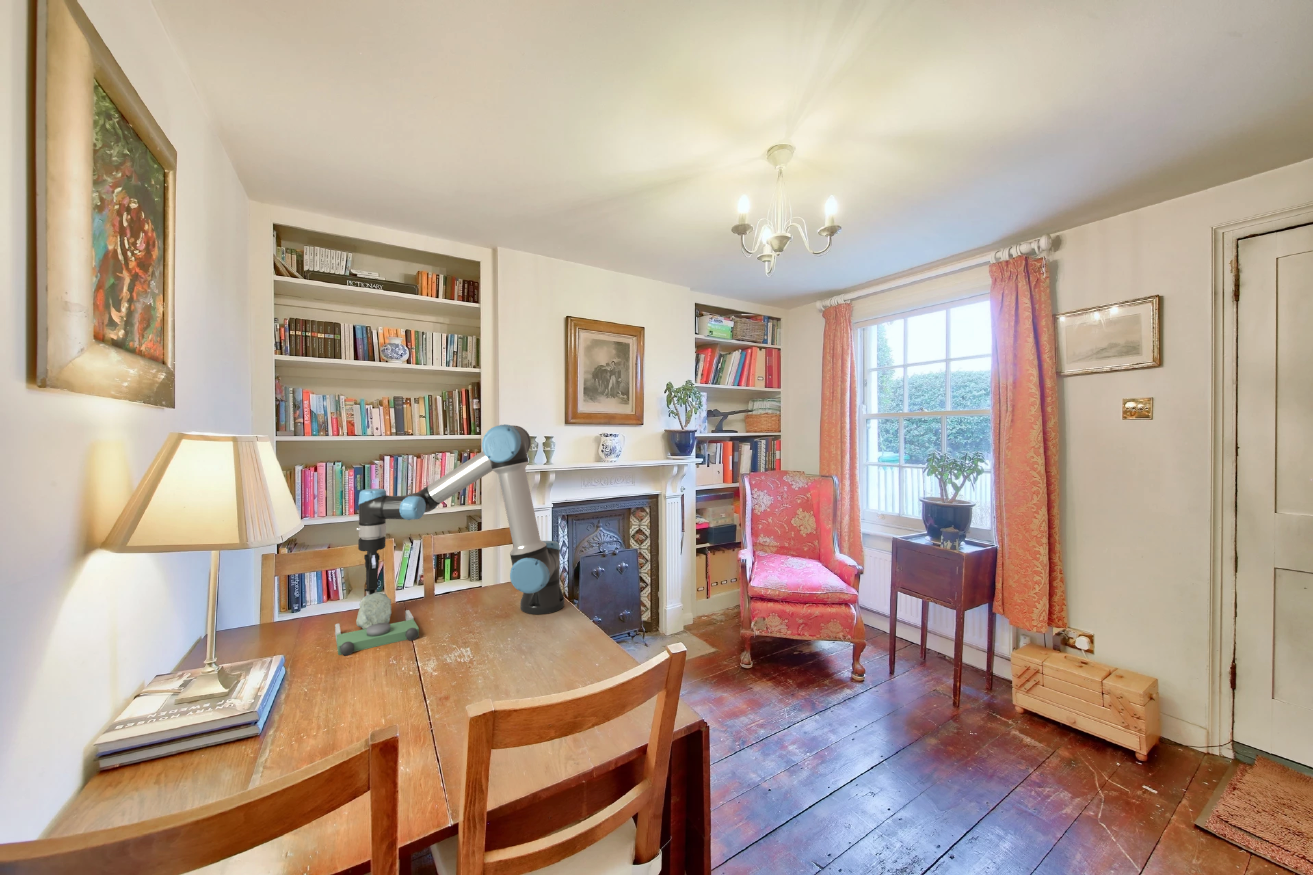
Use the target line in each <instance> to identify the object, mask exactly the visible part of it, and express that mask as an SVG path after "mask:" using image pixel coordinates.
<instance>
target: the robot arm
mask: <svg viewBox="0 0 1313 875" xmlns="http://www.w3.org/2000/svg"><path fill="white" fill-rule="evenodd" d="M531 446H532V440H531V436H530V434H529V432H528V431H527V430H526V429H525V428H524V427H521V426H519V425H510V424H499V425H495V426H493V427H491V428H490V429H488V430H487V431H486V433H485V434H484V436H483V438H482V442H481V448H482V451H481V452H479V453H477V454H476V455H474V456H473V457H472V458H470V459H468V460H467V461H465V462H464V463H462V464H461V465H458V466H457V467H455V468H454V469H452V470H450V471H449V472H448V473H446V474H444V475H443V476H441V477H440V478H438V479H436V480H435V481H433V482H432V483H430V484H429V485H428V486H426V487H424V488H423V489H420V490H419V491H417V492H414V493H409V494H405V495H388V494H387V490H386V489H385V488H366V489H362V490H360V492H359V495H358V496H359V497H358V527H357V528H356V530H355V531H356V532H358V537H359V539H358V548H357V549H358V550H359V551H360V552H366V554H364V558H363V559H364V566H365V585H366V586H365V588H364V592H366V595H365V596H367V595H371V594H373V593H375V592H378V591H377V590H378V588H379V585H378V577H379V576H378V575H379V567H380V566H379V565H380V563H379V561H380V554H379V552H378V551H380V550H384V549H385V548H386V536H385V535H386V533H387V530H386V529H387V523H386V522H387V521H386V520H407V521H412V520H420V519H422V517H423V516H424V515H425V513H430V512H431V511H433V510H435V509H436V508H437V507H438V506H439V505H440V504H443V502H445V501H446V500H448V499H449V498H452V497H454V496H455V495H456V494H459V492H461V491H462V490H464V489H466V488H467V487H469V486H470V485H472V484H474V483H475V482H477V481H479V480H480V479H482V478H483V477H485V476H486V475H488V474H490V473H492V471H493V472H494V473H496V474H497V475H498V479H499V483H500V484H499V485H500V490H501V493H502V494H501V495H502V499H503V503H504V508H505V514H506V517H507V523H508V527H509V528H508V529H509V532H510V536H511V542H512V546H513V547H512V549H511V550H510V552H509V555H510V559H511V560H510V561H511V565H512V567H511V568H510V572H509V579H510V582H511V584H512V586H513V587H514V589H516V590H517V591H518V592H521V593H522V596H521V599H520V603H519V604H520V609H519V610H521V611H522V612H523V613H526V614H531V615H545V614H551V613H555V612H557V611H560V610H562V609H563V608H564V607H565V597H564V593H563V590H562V587H561V584H560V582H561V580H560V576H561V575H560V570H561V569H560V567H561V566H560V564H561V562H560V558H561V554H560V553H561V548H560V543H559V542H558V541H556V540H555V541H553V540H541V535H540V532H539V527H538V523H537V517H536V512H535V508H534V503H533V499H532V495H531V489H530V484H529V481H528V480H529V479H528V474H527V470H526V468H527V466H528V465H529V457H528V456H529V455H528V453H529V451H530V449H531ZM563 606H564V607H563ZM561 608H562V609H561Z"/></svg>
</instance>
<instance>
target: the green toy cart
mask: <svg viewBox="0 0 1313 875" xmlns="http://www.w3.org/2000/svg"><path fill="white" fill-rule="evenodd" d="M340 626H341V624H340V623H336V624H334V628H335V630H334V635H335V642H336V649H337V655H338V656H339V655H343V656H350V655H351V654H353V653H354V652H355V653H356V652H357V651H363V650H367V649H371V648H376V647H380V646H386V645H388V644H389V645H390V644H395V643H397V642H402V641H406V640H408V641H409V642H410V641H411V642H412V641H415V640H416V639H417V638H419V637H420V629H419V626H418V625H417V623H416V621H415V620H414V616H413V614H412V613H411V611H410V610H409V609H408V610H407V609H406V610H405V620H403V621H398V622H393V623H390V622H389V623H377V624H374V625H371V626H369V627H367V629H360V630H353V631H350V632H343V633H341V627H340Z"/></svg>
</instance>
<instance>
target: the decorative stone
mask: <svg viewBox="0 0 1313 875" xmlns="http://www.w3.org/2000/svg"><path fill="white" fill-rule="evenodd" d="M366 595H367V594H366ZM366 595H364V597H362V599H361V601H360V602H359V609H358V612H357V616H356V617H357V618H356V621H355V622H356V626H357V627H358V628H362V629H361V630H363V629H367V627H369V626H371V625H374V624H377V623H389V624H390V620H391V616H392V599H391V598H390V597H388V595H387V594H386V593H383V592H378V591H377V592H375V593H373V594H371V595H367V596H366Z"/></svg>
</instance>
